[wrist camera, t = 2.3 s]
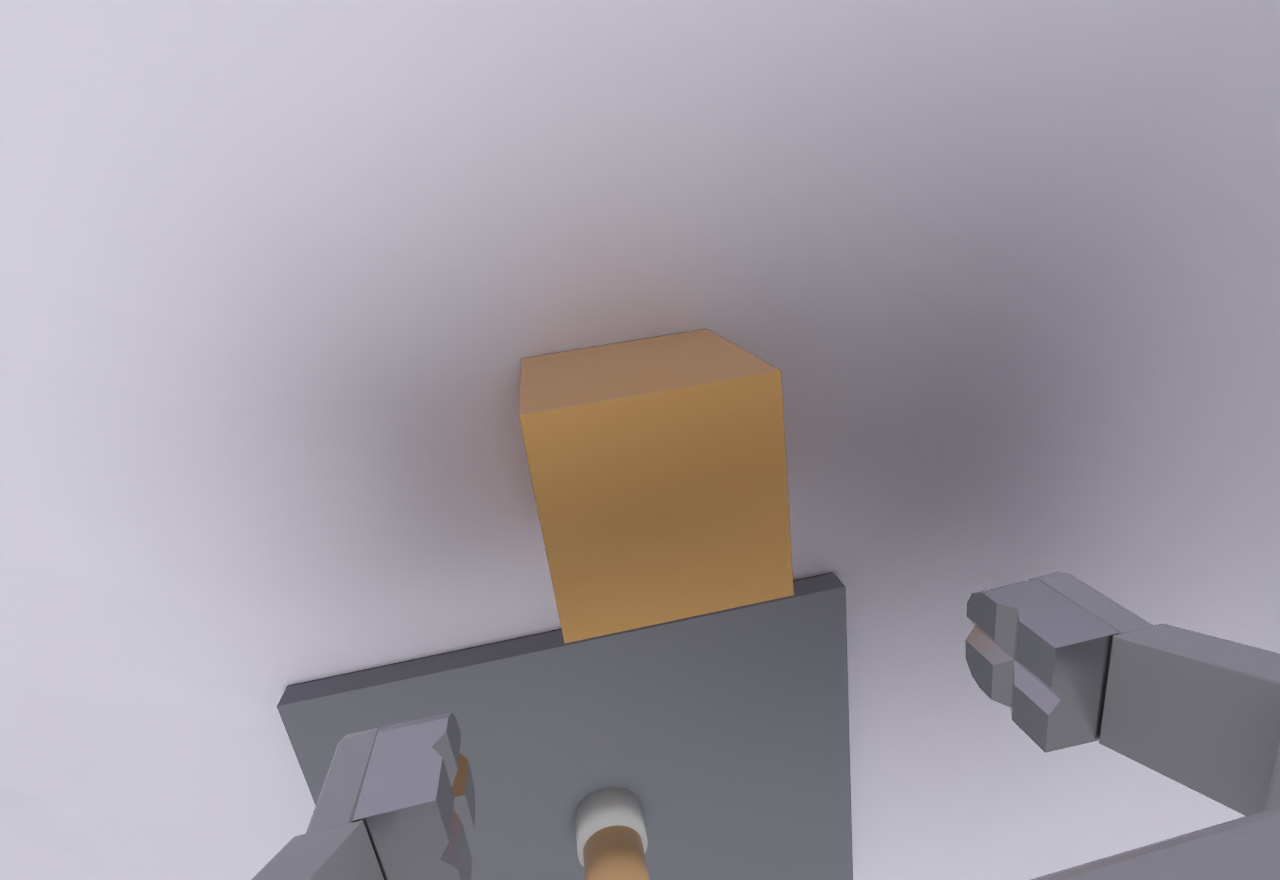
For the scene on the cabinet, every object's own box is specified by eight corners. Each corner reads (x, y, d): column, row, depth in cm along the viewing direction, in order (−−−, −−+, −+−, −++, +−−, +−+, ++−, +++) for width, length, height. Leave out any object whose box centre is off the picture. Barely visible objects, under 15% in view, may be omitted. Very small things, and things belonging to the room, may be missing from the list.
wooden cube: (707, 328, 21) (780, 370, 15) (723, 497, 23) (793, 595, 17) (521, 358, 20) (518, 414, 14) (554, 529, 22) (564, 643, 16)
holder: (833, 573, 25) (896, 644, 20) (843, 872, 30) (894, 978, 26) (287, 686, 22) (231, 793, 18) (402, 988, 28) (379, 1125, 23)
